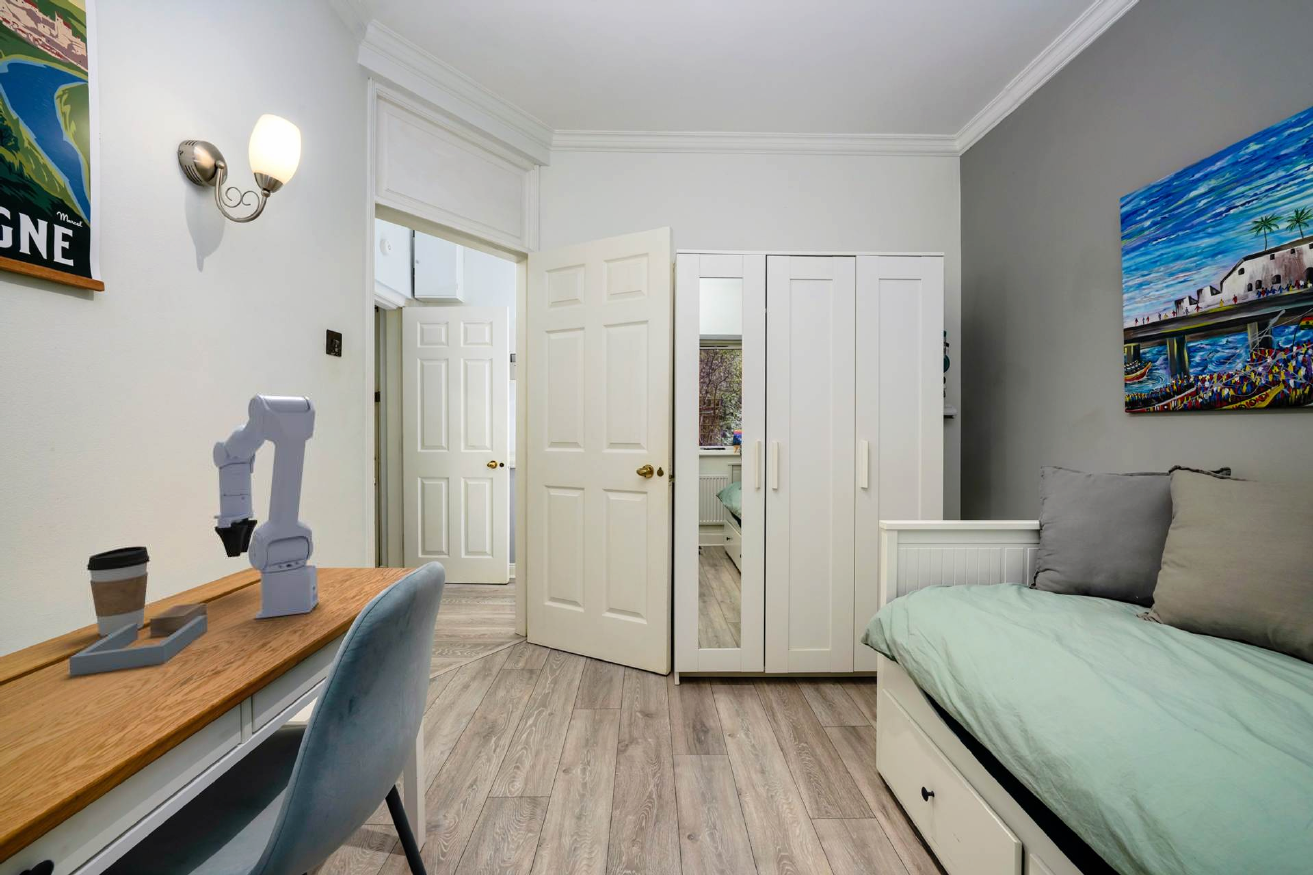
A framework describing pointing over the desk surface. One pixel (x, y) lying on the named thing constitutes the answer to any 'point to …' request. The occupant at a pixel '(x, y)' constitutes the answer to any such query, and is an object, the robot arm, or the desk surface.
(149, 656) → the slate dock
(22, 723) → the desk surface
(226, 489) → the robot arm
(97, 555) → the coffee cup
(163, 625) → the walnut block
